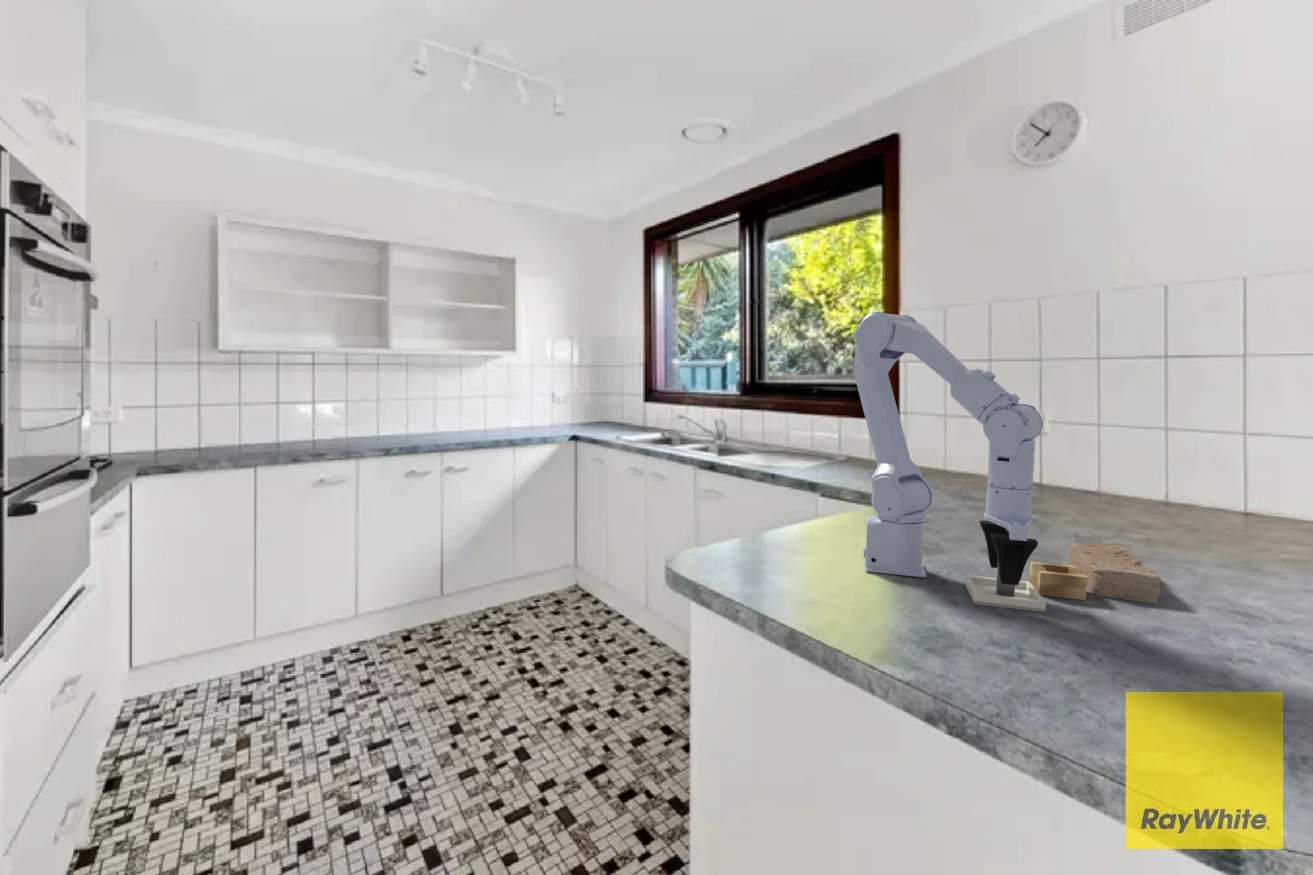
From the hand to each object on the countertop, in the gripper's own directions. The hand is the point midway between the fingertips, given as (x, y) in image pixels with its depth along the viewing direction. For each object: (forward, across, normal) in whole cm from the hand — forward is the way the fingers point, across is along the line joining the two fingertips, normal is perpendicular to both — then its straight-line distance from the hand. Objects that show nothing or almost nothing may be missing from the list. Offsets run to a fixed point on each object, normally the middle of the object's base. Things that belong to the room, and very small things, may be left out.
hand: (1003, 575), depth 88 cm
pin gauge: (+3, 0, 0) cm, 3 cm away
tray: (+3, 0, 0) cm, 3 cm away
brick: (+4, +14, -18) cm, 23 cm away
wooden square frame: (+3, +6, -8) cm, 11 cm away
